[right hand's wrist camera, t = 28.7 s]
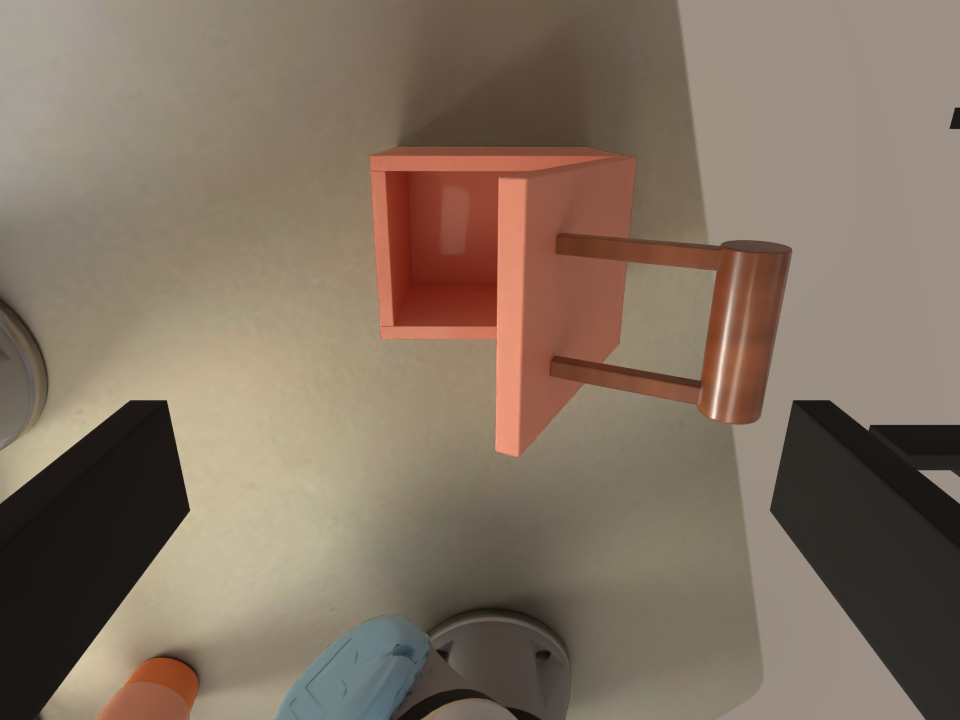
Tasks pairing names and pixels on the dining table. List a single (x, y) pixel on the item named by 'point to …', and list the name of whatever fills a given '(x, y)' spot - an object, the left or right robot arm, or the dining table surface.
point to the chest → (446, 234)
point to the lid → (614, 301)
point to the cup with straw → (155, 693)
